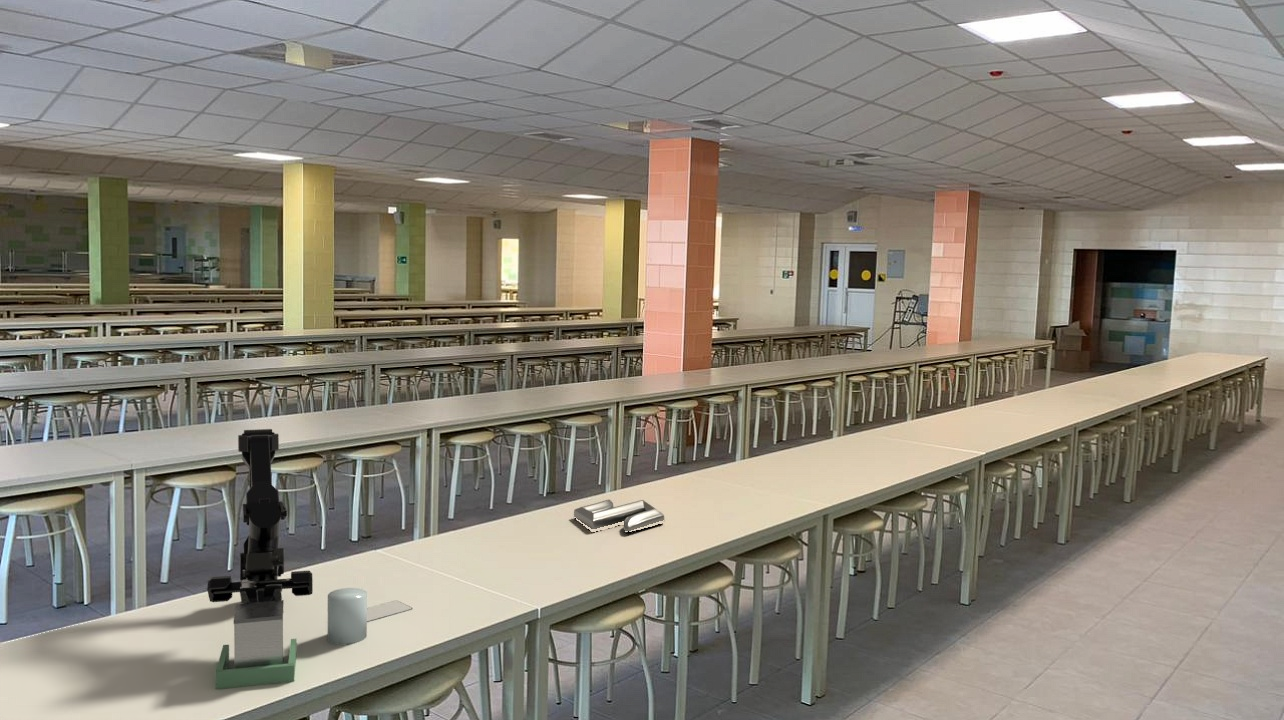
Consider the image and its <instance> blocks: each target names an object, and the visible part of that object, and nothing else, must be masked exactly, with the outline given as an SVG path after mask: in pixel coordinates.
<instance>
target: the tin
mask: <svg viewBox="0 0 1284 720" xmlns="http://www.w3.org/2000/svg"><path fill="white" fill-rule="evenodd" d="M234 610H235V612H234V614H233V629H234V630H233V631H234V632H233V633H234V635H233V642H234V646H233V647H234V651H233V652H234V654H233V655H234V659H233V660H234V661H233V662H234V669H238V668H248V667H258V666H269V665H279V664H284V599H282V600H279V601H267V602H255V603H244V604H243V603H236V604H235V609H234Z"/></svg>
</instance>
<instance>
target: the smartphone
mask: <svg viewBox="0 0 1284 720" xmlns="http://www.w3.org/2000/svg"><path fill="white" fill-rule="evenodd" d="M411 610H413V607H412V606H410V605H407V604H405V603H404V602H402V601H399V600H391V601H388V602H384V603H381V604H380V603H379V604H378V605H374V606H369V607H367V623H369V622H373V621H377V620H381V619H384V618H387V617H391V616H394V615H397V614H401V613H405V612H409V611H411Z"/></svg>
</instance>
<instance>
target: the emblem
mask: <svg viewBox="0 0 1284 720" xmlns="http://www.w3.org/2000/svg"><path fill="white" fill-rule="evenodd" d="M574 517H576V518H577V519H578V520H580V521H581V522H582V523H584V524H585V525H587V526H588V527H590V528H591V529H597V528H600V527H604V526H608V525H612V524H615V523H618V522H622V521H624V525H623V531H624V530H625V531H631V530H634V529H637V528H640V527H644V526H647V525H649V524H653V523H656V522H659V521H663V520H664V521H665V514H664V513H662V512H661V511H659V510H658V509H657V508H655V507H654V506H652V505H651V504H649V502H647V501H645V500H644V499H640V500H637V501H632V502H630V503H629V502H628V503H625V504H621V505H617V506H614V502H613V501H612V500H611V499H605V500H602V501H600V502H594V503H591V504H587V505H583V506H580V507H577V508H575V509H574V510H573V518H574ZM625 531H624V532H625Z"/></svg>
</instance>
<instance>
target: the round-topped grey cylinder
mask: <svg viewBox="0 0 1284 720" xmlns="http://www.w3.org/2000/svg"><path fill="white" fill-rule="evenodd" d="M367 608H368V592H367V590H365V589H363V588H359V587H343V588H339V589H338V588H337V589H335V590H332V591H330V592H329V593H328V594H327V641H328V642H329V643H331V644H333V643H334V645H340V644H346V645H352V644H357V643H360V642H362V641H364V640H365V639H367V636H368V634H367V633H368V631H367V626H368V622H367Z"/></svg>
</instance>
